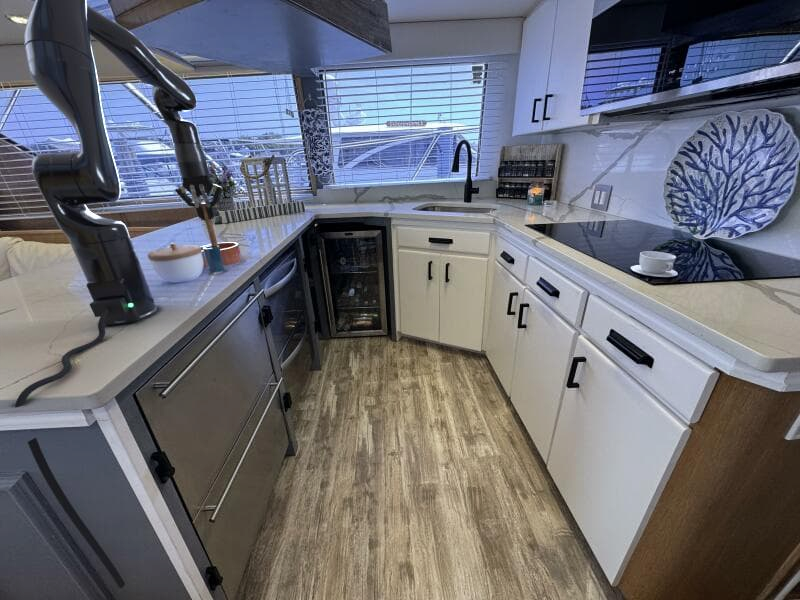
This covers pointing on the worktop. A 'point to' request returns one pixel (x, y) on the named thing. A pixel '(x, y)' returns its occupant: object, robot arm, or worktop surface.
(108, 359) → the worktop surface
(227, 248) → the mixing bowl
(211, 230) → the stirring stick
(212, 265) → the utensil pot
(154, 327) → the worktop surface
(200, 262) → the lidded bowl
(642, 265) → the teacup
